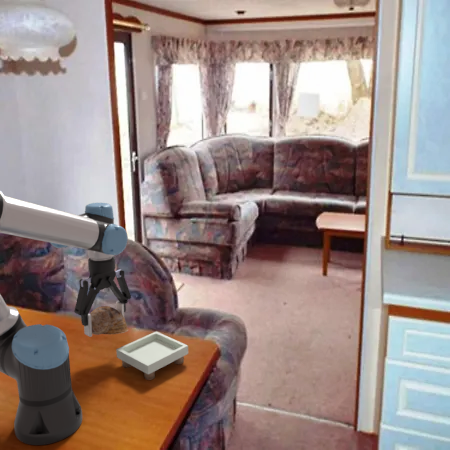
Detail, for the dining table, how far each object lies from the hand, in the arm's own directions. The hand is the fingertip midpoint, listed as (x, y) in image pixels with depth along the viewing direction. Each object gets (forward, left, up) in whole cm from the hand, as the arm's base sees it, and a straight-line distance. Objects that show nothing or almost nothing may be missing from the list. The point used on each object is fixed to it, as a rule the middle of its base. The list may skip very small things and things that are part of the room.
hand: (105, 328), depth 148 cm
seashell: (0, -1, -1) cm, 1 cm away
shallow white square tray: (+6, -14, -9) cm, 18 cm away
